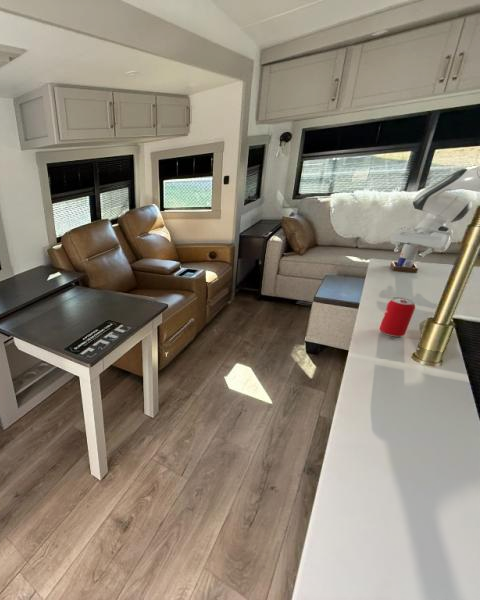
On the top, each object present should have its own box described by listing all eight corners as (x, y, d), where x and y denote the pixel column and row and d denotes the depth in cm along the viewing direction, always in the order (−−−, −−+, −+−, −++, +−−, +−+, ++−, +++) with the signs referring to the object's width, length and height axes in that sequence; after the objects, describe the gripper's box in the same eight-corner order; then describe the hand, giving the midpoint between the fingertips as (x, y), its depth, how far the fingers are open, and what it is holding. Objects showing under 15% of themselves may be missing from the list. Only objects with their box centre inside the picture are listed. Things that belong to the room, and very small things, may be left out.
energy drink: (397, 265, 156) (405, 241, 151) (412, 267, 152) (421, 243, 147) (394, 268, 153) (403, 244, 148) (410, 270, 149) (419, 245, 144)
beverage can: (401, 330, 106) (413, 298, 101) (406, 339, 101) (420, 306, 96) (376, 327, 109) (387, 295, 104) (380, 335, 104) (392, 303, 99)
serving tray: (413, 267, 153) (414, 263, 153) (416, 272, 147) (418, 268, 147) (390, 265, 158) (391, 261, 157) (392, 270, 152) (394, 266, 151)
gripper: (399, 223, 156) (380, 245, 157) (456, 229, 138) (435, 255, 139) (401, 230, 159) (383, 252, 160) (458, 238, 141) (437, 263, 142)
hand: (407, 254), depth 149 cm, fingers open, 8 cm apart
